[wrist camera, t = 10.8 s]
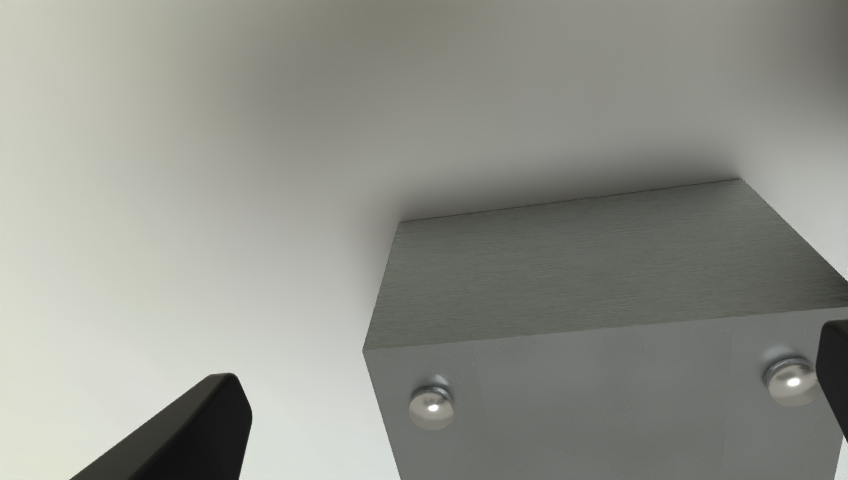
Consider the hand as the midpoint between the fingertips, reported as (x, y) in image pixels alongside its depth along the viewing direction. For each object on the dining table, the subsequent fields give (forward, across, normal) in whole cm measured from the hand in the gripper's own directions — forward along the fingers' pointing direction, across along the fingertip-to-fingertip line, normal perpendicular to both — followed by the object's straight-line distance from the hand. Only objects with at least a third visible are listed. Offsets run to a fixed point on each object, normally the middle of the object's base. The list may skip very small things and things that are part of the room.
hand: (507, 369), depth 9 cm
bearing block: (+12, -2, +8) cm, 15 cm away
